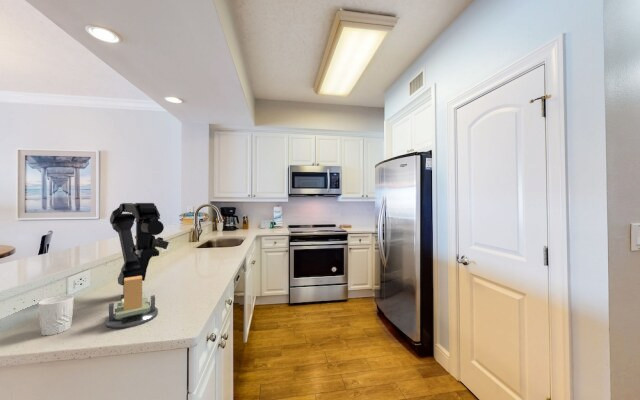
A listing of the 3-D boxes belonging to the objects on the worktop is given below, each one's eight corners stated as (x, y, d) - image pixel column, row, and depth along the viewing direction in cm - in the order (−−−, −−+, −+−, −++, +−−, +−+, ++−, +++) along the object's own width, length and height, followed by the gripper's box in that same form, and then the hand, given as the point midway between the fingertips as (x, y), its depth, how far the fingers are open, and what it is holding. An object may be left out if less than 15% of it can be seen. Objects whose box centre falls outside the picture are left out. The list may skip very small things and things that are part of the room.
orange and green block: (115, 306, 91) (115, 275, 92) (148, 300, 97) (148, 271, 98) (113, 319, 80) (114, 284, 81) (151, 310, 86) (151, 278, 87)
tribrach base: (106, 316, 90) (106, 298, 90) (156, 306, 99) (156, 289, 99) (103, 334, 78) (103, 313, 78) (159, 320, 87) (160, 301, 87)
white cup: (55, 324, 84) (55, 295, 84) (80, 323, 85) (80, 294, 85) (30, 337, 76) (30, 304, 76) (57, 336, 77) (58, 303, 77)
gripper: (173, 233, 102) (173, 271, 101) (160, 230, 114) (160, 264, 114) (140, 236, 94) (140, 277, 93) (130, 232, 106) (130, 268, 106)
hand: (144, 271), depth 102 cm, fingers closed
